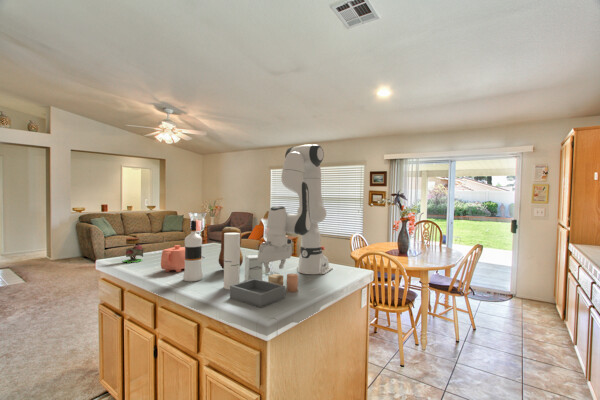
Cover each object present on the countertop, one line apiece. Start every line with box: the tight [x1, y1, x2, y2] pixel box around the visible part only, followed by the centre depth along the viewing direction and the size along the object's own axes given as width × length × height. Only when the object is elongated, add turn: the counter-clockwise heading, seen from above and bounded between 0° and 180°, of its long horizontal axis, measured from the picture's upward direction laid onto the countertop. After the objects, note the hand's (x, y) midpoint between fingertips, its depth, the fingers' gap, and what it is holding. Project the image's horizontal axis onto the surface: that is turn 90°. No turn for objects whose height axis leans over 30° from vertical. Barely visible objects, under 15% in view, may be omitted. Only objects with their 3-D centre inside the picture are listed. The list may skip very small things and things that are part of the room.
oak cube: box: [267, 273, 284, 286], centre depth 137 cm, size 5×5×5 cm
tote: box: [229, 279, 286, 309], centre depth 120 cm, size 14×18×5 cm
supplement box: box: [244, 254, 264, 282], centre depth 145 cm, size 7×7×13 cm
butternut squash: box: [218, 226, 244, 270], centre depth 166 cm, size 14×13×25 cm
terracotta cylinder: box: [286, 273, 299, 293], centre depth 131 cm, size 5×5×7 cm
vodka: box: [182, 220, 204, 283], centre depth 147 cm, size 9×9×30 cm
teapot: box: [160, 244, 185, 273], centre depth 167 cm, size 22×13×14 cm, turn 168°
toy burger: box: [122, 237, 146, 264], centre depth 187 cm, size 12×13×15 cm
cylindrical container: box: [223, 233, 241, 290], centre depth 135 cm, size 7×7×25 cm
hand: (274, 270), depth 136 cm, fingers open, 8 cm apart
